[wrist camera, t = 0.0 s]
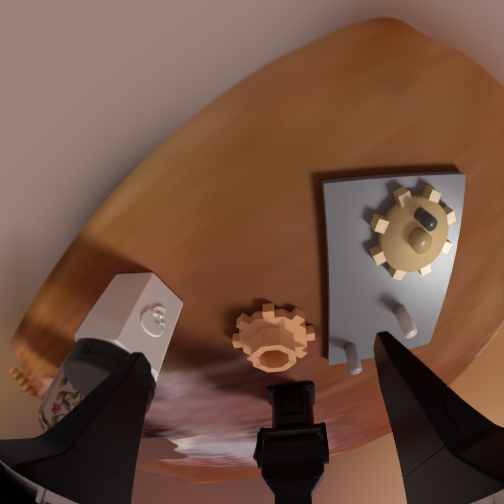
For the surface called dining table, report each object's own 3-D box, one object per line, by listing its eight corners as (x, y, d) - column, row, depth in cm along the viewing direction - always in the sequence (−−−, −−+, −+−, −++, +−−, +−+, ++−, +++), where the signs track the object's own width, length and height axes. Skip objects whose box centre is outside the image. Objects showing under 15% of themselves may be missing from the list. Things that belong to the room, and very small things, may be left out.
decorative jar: (69, 347, 35) (24, 434, 19) (130, 366, 35) (92, 471, 19) (90, 385, 41) (59, 461, 25) (144, 402, 41) (119, 487, 25)
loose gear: (314, 353, 31) (317, 377, 27) (242, 360, 32) (240, 384, 29) (312, 298, 26) (316, 324, 23) (224, 307, 28) (220, 334, 24)
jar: (199, 314, 28) (173, 413, 18) (153, 338, 31) (122, 421, 21) (139, 253, 25) (78, 345, 15) (99, 289, 28) (47, 367, 17)
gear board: (426, 338, 29) (438, 363, 26) (327, 359, 31) (332, 388, 27) (459, 171, 19) (488, 186, 15) (320, 180, 21) (333, 198, 17)
